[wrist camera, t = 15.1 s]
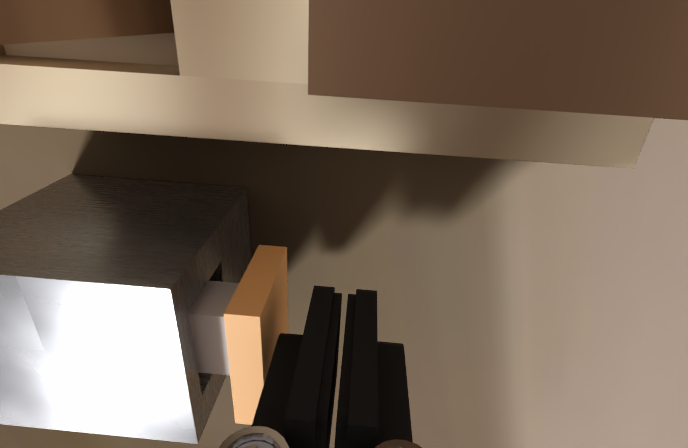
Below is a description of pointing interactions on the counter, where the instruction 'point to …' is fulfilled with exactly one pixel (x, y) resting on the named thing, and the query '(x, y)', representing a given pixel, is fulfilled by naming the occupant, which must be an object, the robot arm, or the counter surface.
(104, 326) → the grey metal housing
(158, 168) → the counter surface
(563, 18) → the block
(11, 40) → the block
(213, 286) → the plunger
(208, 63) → the pallet
